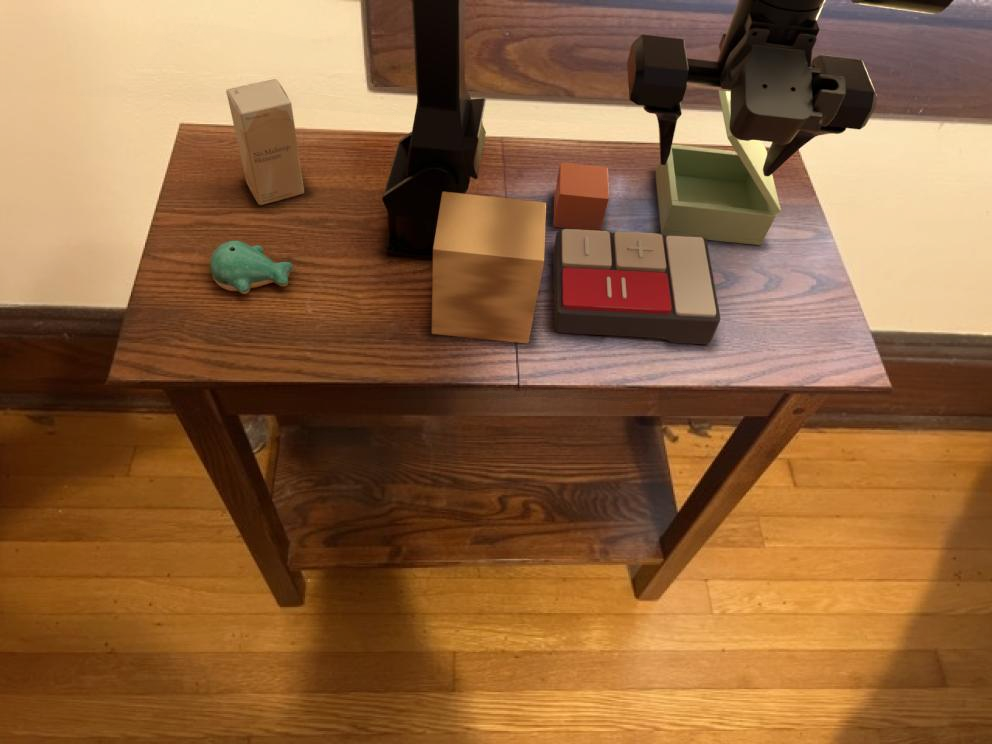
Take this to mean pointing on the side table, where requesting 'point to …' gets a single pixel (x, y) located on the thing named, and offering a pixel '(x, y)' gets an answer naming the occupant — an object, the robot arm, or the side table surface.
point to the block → (581, 196)
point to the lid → (751, 157)
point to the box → (266, 140)
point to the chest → (710, 197)
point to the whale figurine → (246, 267)
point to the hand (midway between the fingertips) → (714, 167)
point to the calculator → (634, 285)
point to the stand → (487, 266)
